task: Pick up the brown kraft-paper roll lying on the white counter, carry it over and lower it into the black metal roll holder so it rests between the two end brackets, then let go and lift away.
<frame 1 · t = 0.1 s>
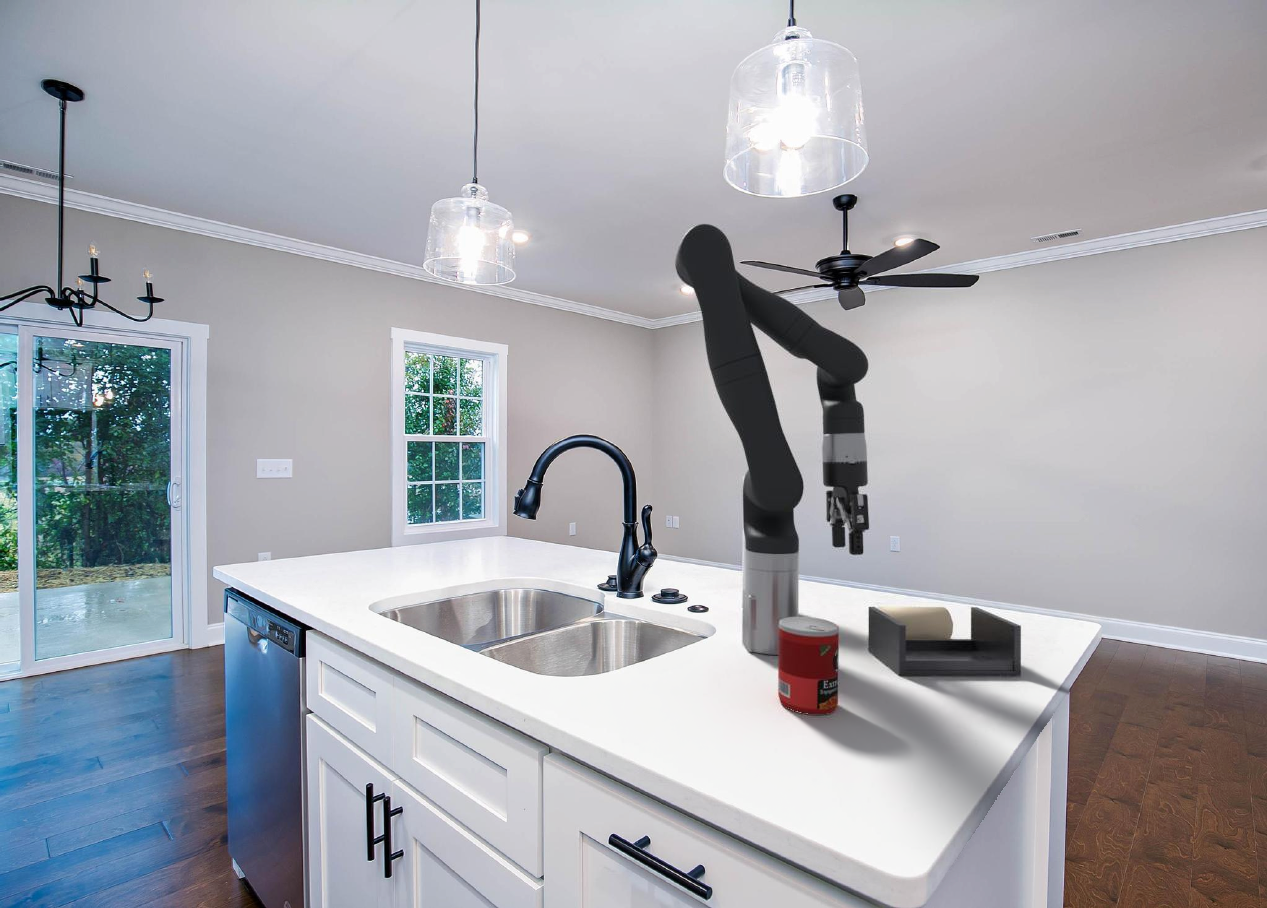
hand: (847, 550, 110), 17 cm above the worktop, tool pointing down, fingers open, 8 cm apart
roll holder: (940, 663, 101), on the worktop
canned food: (807, 705, 84), on the worktop
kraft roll: (912, 639, 115), on the worktop
cylinder container: (763, 610, 137), on the worktop
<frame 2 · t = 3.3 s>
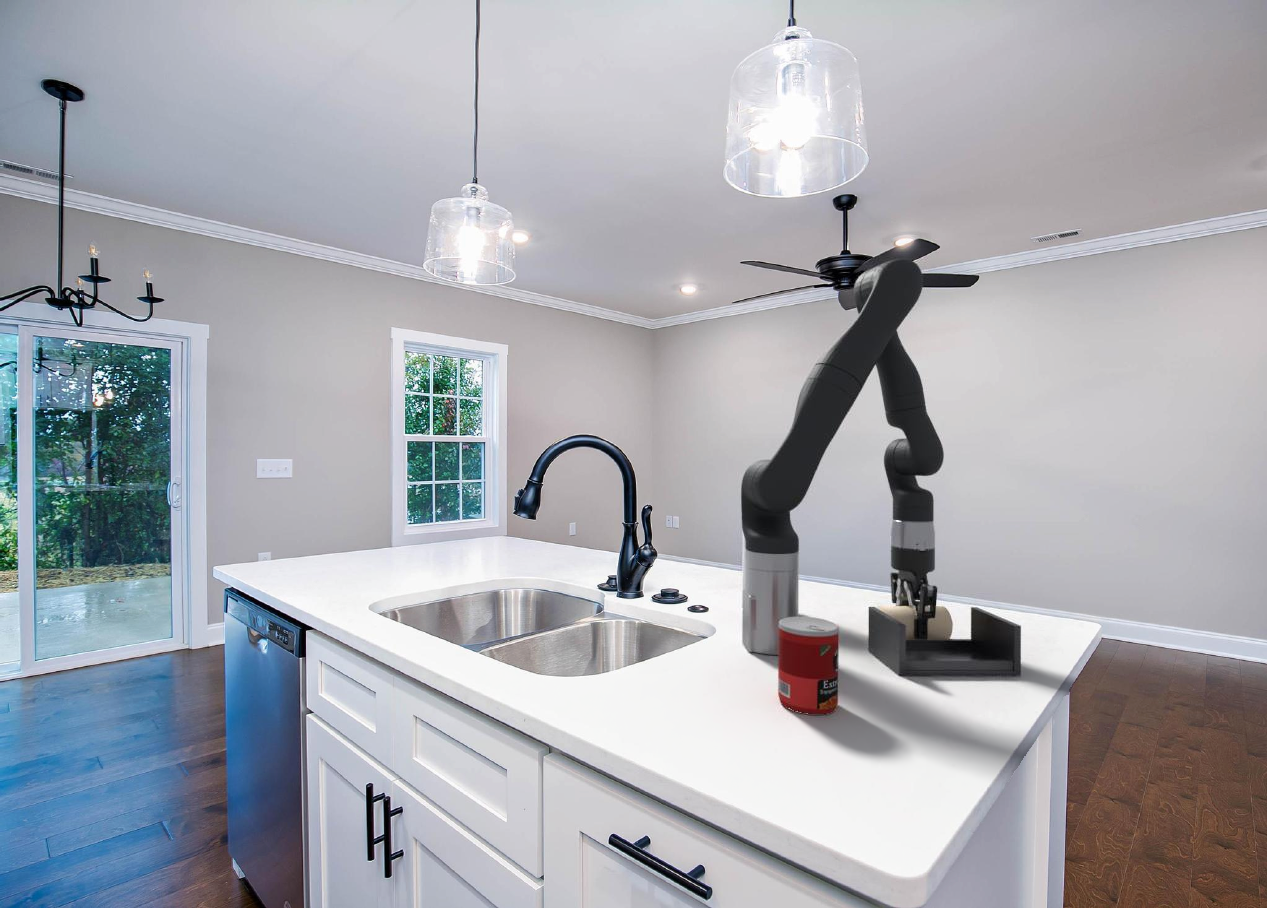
hand: (912, 633, 116), 1 cm above the worktop, tool pointing down, fingers closed on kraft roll, 6 cm apart
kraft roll: (911, 638, 116), on the worktop, touching gripper
everything else where it was.
when the fingers open (3 cm above the worktop, at t = 9.1 s): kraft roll drops 1 cm, resting on roll holder.
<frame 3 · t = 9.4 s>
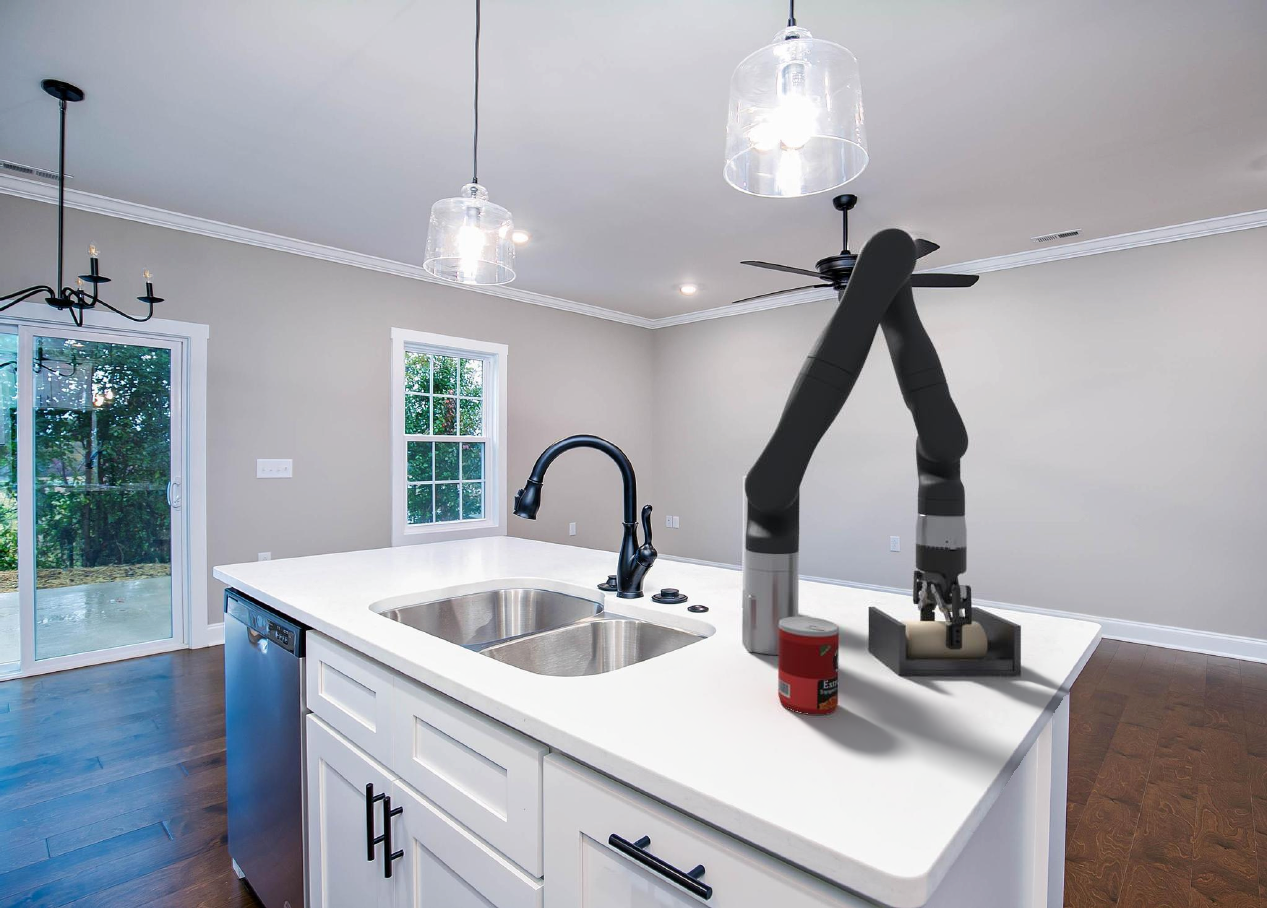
hand: (940, 640, 101), 4 cm above the worktop, tool pointing down, fingers open, 8 cm apart
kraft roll: (939, 658, 102), point 1 cm above the worktop, touching roll holder
everything else where it was.
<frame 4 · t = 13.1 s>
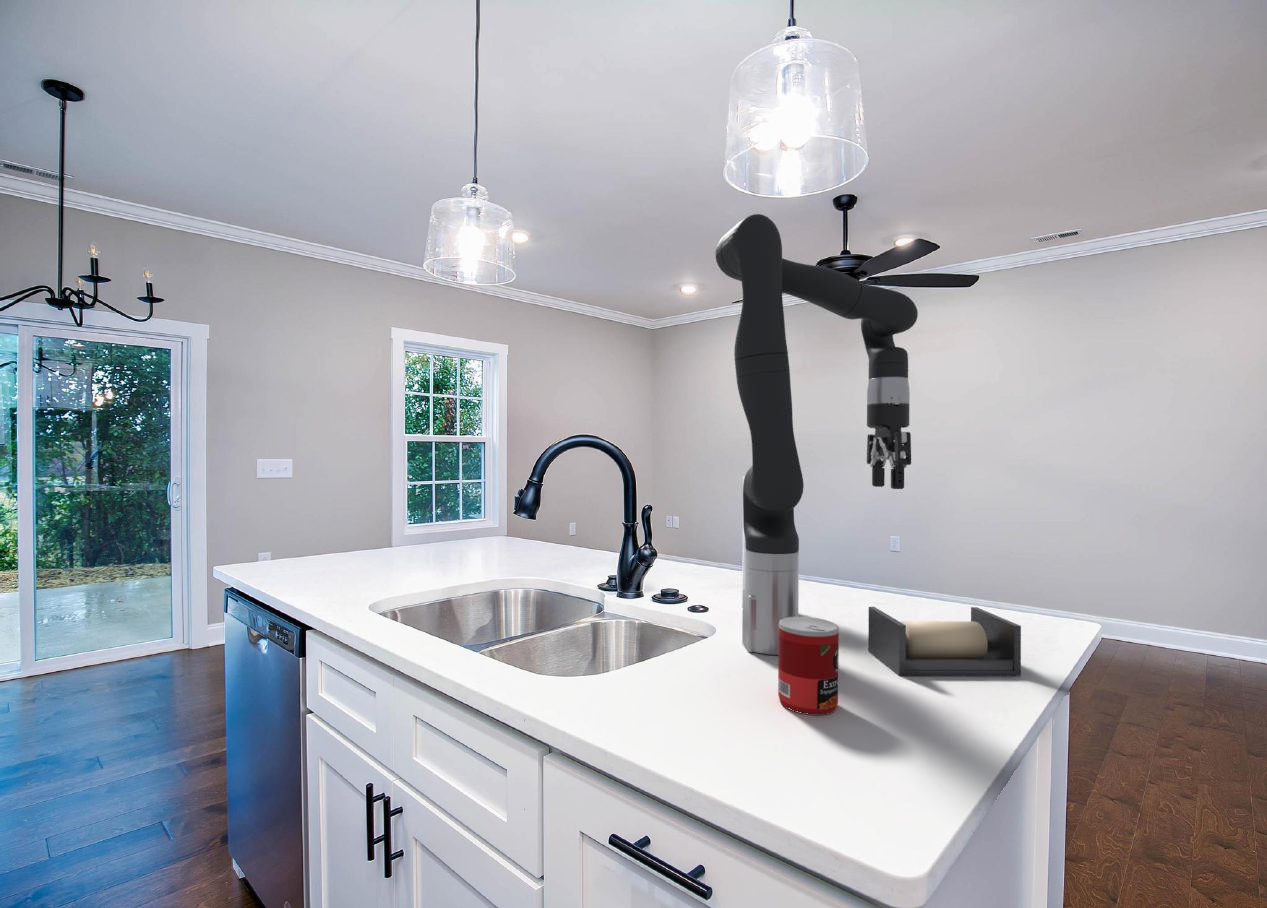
hand: (887, 487, 118), 28 cm above the worktop, tool pointing down, fingers open, 8 cm apart
nothing on the worktop moved.
at the end: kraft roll 0.2 cm off-centre on the roll holder, point 0.8 cm above the roll holder's base; the gripper is holding nothing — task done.
